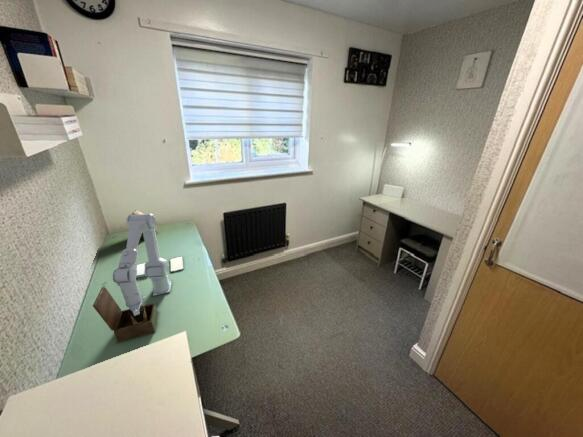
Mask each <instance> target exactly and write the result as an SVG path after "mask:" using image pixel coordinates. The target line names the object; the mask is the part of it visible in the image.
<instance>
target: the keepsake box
mask: <svg viewBox="0 0 583 437" xmlns="http://www.w3.org/2000/svg"><path fill="white" fill-rule="evenodd" d="M143 305H144V306H145V309H146V312H147V320H148V321H145V322H143V323H140V324H136V325H134V324H133V321H132V319H131V316H129V313H128V311H131V310H130V309H129V308H127V309H124V310H121V312H120V315H119V318H118V320H117V323H116V326H115V329H114V330H113V334H114V336H115V339H116V341H117V343H121V342H124V341H128V340H132V339H135V338H139V337H142V336H146V335H150V334H153V333H155V332H156V329H157V328H156V327H157V321H158V315H159V312H158V309H157V305H156V302H154V303H149V304H143Z"/></svg>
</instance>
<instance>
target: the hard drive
mask: <svg viewBox="0 0 583 437" xmlns="http://www.w3.org/2000/svg"><path fill="white" fill-rule="evenodd" d="M145 263H146V262H145ZM145 263H139V264H136V266H137V276H136V279H138V278H143V277H147V276H146V275H145V272H144V271H145V266H144V265H145Z"/></svg>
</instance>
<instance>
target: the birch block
mask: <svg viewBox="0 0 583 437" xmlns="http://www.w3.org/2000/svg"><path fill="white" fill-rule="evenodd" d="M144 305H145V304H141V306H140V308H141V307H143V306H144ZM144 308H145V306H144ZM143 318H144V320H143V321H141V322H139V323H138V322H137V321H136V320H135V319H134V318H133V317H131V319H132V321H133V324H134V325H136V324H140V323H143V322H145V321H148V320H147V312H146V309H145V310H144V313H143Z"/></svg>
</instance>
